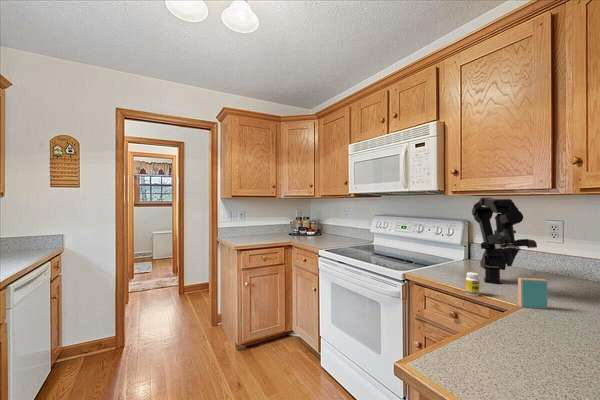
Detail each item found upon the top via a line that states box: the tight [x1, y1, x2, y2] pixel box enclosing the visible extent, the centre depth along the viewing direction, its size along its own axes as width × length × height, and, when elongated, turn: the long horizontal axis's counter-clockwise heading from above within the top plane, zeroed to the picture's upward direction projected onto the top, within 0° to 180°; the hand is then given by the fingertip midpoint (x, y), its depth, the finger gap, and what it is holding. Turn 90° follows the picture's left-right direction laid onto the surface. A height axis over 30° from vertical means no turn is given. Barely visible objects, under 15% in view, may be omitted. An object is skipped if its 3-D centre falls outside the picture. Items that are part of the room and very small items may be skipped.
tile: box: [517, 277, 548, 310], centre depth 98 cm, size 2×8×10 cm, turn 77°
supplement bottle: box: [465, 271, 480, 297], centre depth 112 cm, size 5×5×8 cm
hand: (509, 266), depth 111 cm, fingers closed
